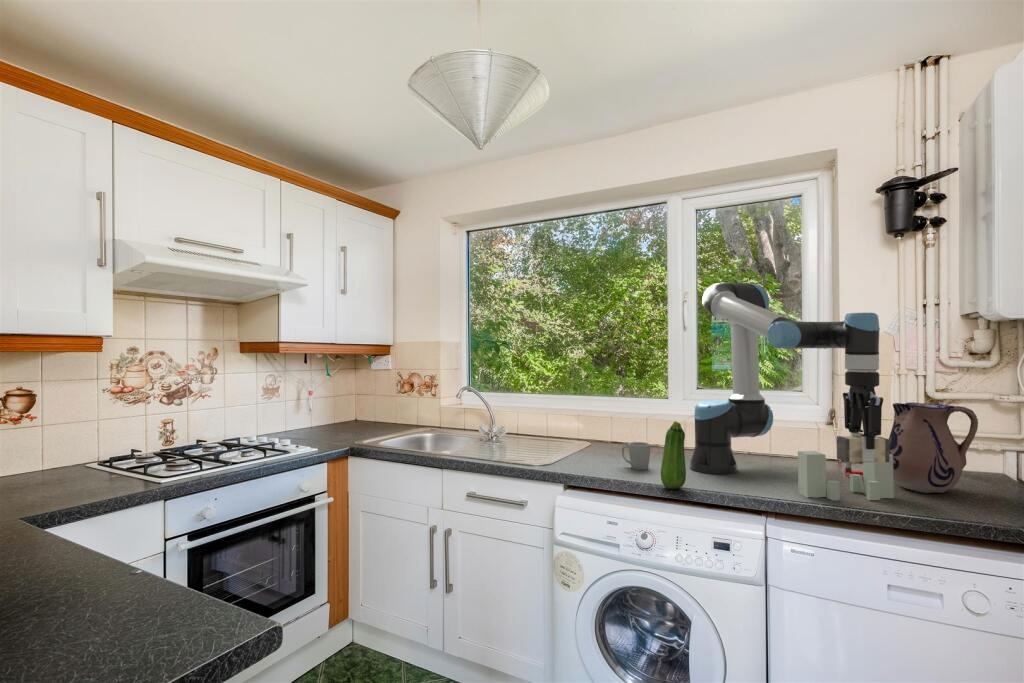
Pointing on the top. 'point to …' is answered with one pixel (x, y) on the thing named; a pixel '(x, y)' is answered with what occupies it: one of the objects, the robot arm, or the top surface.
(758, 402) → the robot arm
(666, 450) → the vegetable
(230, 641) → the top surface
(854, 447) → the wooden block
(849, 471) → the tow hook
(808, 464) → the pale green stepped block
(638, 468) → the cup
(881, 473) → the pale green fixture block
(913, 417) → the ceramic pitcher
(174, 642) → the top surface
